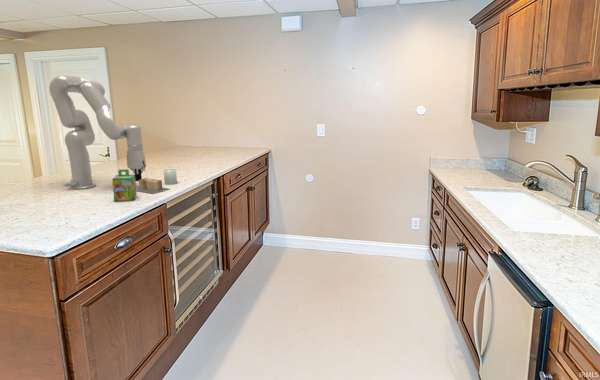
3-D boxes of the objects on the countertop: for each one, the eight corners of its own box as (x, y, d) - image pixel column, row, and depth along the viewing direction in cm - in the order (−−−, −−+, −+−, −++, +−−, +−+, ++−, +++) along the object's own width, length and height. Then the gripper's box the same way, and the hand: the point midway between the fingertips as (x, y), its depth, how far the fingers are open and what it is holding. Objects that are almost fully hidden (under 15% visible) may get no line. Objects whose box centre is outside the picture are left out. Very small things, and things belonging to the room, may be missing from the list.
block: (139, 188, 206) (155, 191, 201) (138, 179, 205) (154, 182, 200) (146, 186, 210) (162, 189, 205) (146, 178, 209) (161, 180, 204)
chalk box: (114, 202, 181) (110, 172, 177) (117, 197, 189) (114, 168, 186) (134, 200, 183) (131, 171, 180) (137, 196, 192) (134, 167, 188)
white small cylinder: (170, 185, 216) (169, 171, 214) (162, 183, 219) (160, 170, 217) (179, 182, 222) (178, 169, 220) (170, 181, 225) (169, 168, 223)
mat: (153, 194, 196) (153, 193, 196) (134, 191, 202) (134, 190, 202) (170, 189, 206) (170, 188, 206) (151, 186, 212) (151, 185, 212)
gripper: (119, 148, 204) (123, 180, 209) (139, 149, 198) (142, 183, 202) (131, 146, 211) (134, 178, 215) (150, 148, 204) (153, 180, 209)
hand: (138, 180), depth 209 cm, fingers closed
